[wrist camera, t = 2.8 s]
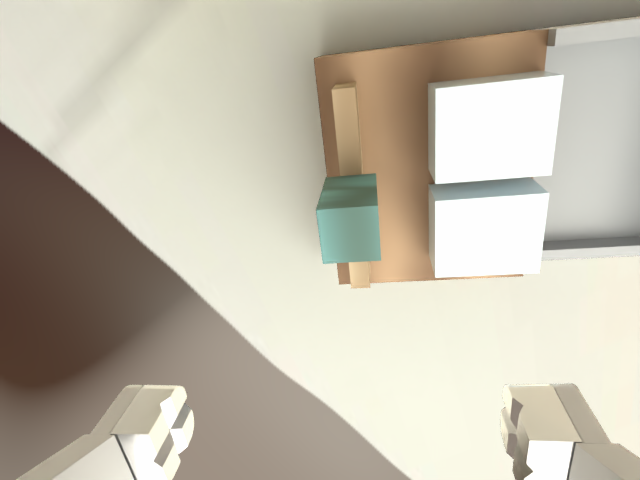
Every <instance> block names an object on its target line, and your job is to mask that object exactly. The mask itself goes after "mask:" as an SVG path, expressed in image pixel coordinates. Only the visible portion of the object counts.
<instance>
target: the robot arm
mask: <svg viewBox="0 0 640 480" xmlns="http://www.w3.org/2000/svg"><path fill="white" fill-rule="evenodd" d="M186 398H187V394H186V392H185V389H184V387H182V386H169V385H128V386H126V387H125V388H123V390H122V391H121V392H120V394H119V395H118V396H117V398H116V399H115V400H114V402H113V403H112V405H111V406H110V407H109V409H108V410H107V412H106V413H105V414H104V416H103V417H102V418H101V420H100V421H99V423H98V424H97V425H96V427H95V428H94V429H93V431H92V432H91V434H88V435H86V434H85V435H83V436H81V437H80V438H78V439H77V440H75V441H74V442H72V443H71V444H69V445H68V446H66V447H65V448H63V449H62V450H60V451H59V452H57V453H56V454H54V455H53V456H51V457H49V458H48V459H46V460H45V461H43V462H42V463H40V464H39V465H37V466H36V467H34V468H33V469H31V470H30V471H28V472H27V473H25V474H24V475H22V476H21V477H19V478H18V479H16V480H172V479H173V477H174V475H175V473H176V471H177V469H178V466H179V464H180V462H181V461H180V457H179V453H180V452H181V451H183V450H184V449H185V448H186V447H187V446H188V445H189V442H190V440H191V437H192V433H193V429H194V415H193V412H192V409H191V408H190V407H189V406H187V405H186V404H185V403H184V402H185V400H186ZM502 398H503V401H504V404H505V407H504V408H503V409H502V410H501V418H500V424H501V434H502V438H503V443H504V446H505V449H506V452H507V454H509V455H510V456H511V457H512V458H513V459H514V461H513V474H514V477H515V480H640V458H639V457H638V456H636V455H635V454H633V453H632V452H630V451H629V450H627V449H626V448H625V447H623V446H622V445H620V444H615V443H611V442H610V440H609V438H608V437H607V435H606V433H605V432H604V430H603V429H602V427H601V425H600V424H599V422H598V420H597V419H596V417H595V415H594V414H593V412H592V410H591V409H590V407H589V405H588V404H587V402H586V400H585V399H584V397H583V395H582V394H581V392H580V390H579V389H578V387H577V386H576V385H574V384H510V385H504V387H503V393H502Z"/></svg>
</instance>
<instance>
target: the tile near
mask: <svg viewBox="0 0 640 480" xmlns="http://www.w3.org/2000/svg"><path fill="white" fill-rule="evenodd" d="M563 78H564V75H562V74H557V73H551V72H546V71H532V72H523V73H514V74H505V75H496V76H487V77H478V78H469V79H460V80H451V81H442V82H433V83H428V169H429V171H430V174H431V176H432V178H433V180H434V182H435V184H444V183H457V182H470V181H483V180H496V179H509V178H522V177H535V176H548V175H552V167H553V159H554V151H555V143H556V135H557V127H558V118H559V110H560V102H561V94H562V86H563Z"/></svg>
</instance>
